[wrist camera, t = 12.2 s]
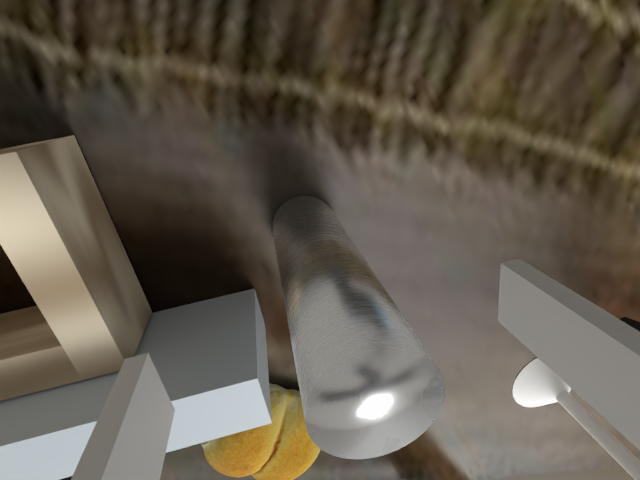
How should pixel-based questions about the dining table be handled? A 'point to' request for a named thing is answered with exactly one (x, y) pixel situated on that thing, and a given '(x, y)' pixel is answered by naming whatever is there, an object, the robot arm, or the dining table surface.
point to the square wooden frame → (63, 273)
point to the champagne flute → (568, 409)
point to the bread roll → (267, 443)
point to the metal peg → (349, 341)
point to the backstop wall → (177, 377)
